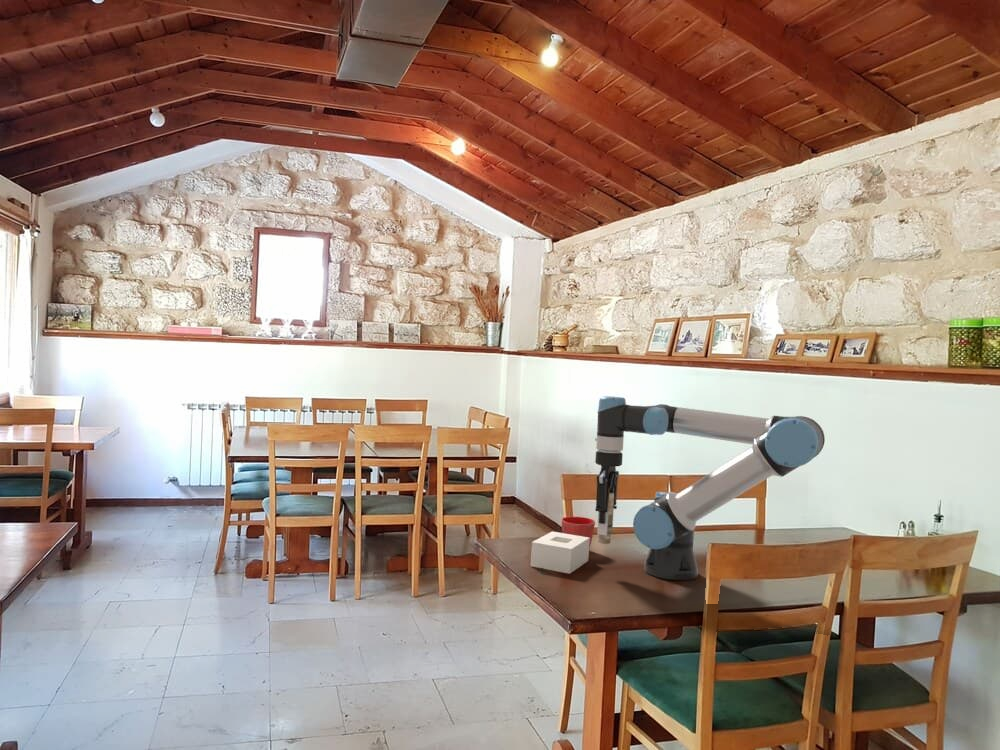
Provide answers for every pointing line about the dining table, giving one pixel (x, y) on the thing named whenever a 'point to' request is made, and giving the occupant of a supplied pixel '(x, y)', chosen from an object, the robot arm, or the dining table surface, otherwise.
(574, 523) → the flower pot
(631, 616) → the dining table surface
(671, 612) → the dining table surface
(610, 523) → the beech peg
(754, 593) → the dining table surface
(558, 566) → the socket block
